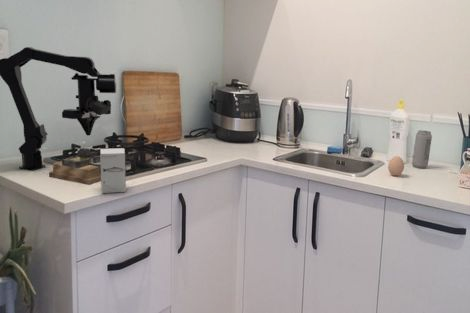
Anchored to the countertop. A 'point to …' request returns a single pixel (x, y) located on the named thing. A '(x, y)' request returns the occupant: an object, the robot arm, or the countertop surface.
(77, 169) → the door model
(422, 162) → the energy drink can
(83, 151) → the yellow and black block
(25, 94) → the robot arm
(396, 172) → the egg
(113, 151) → the supplement box
